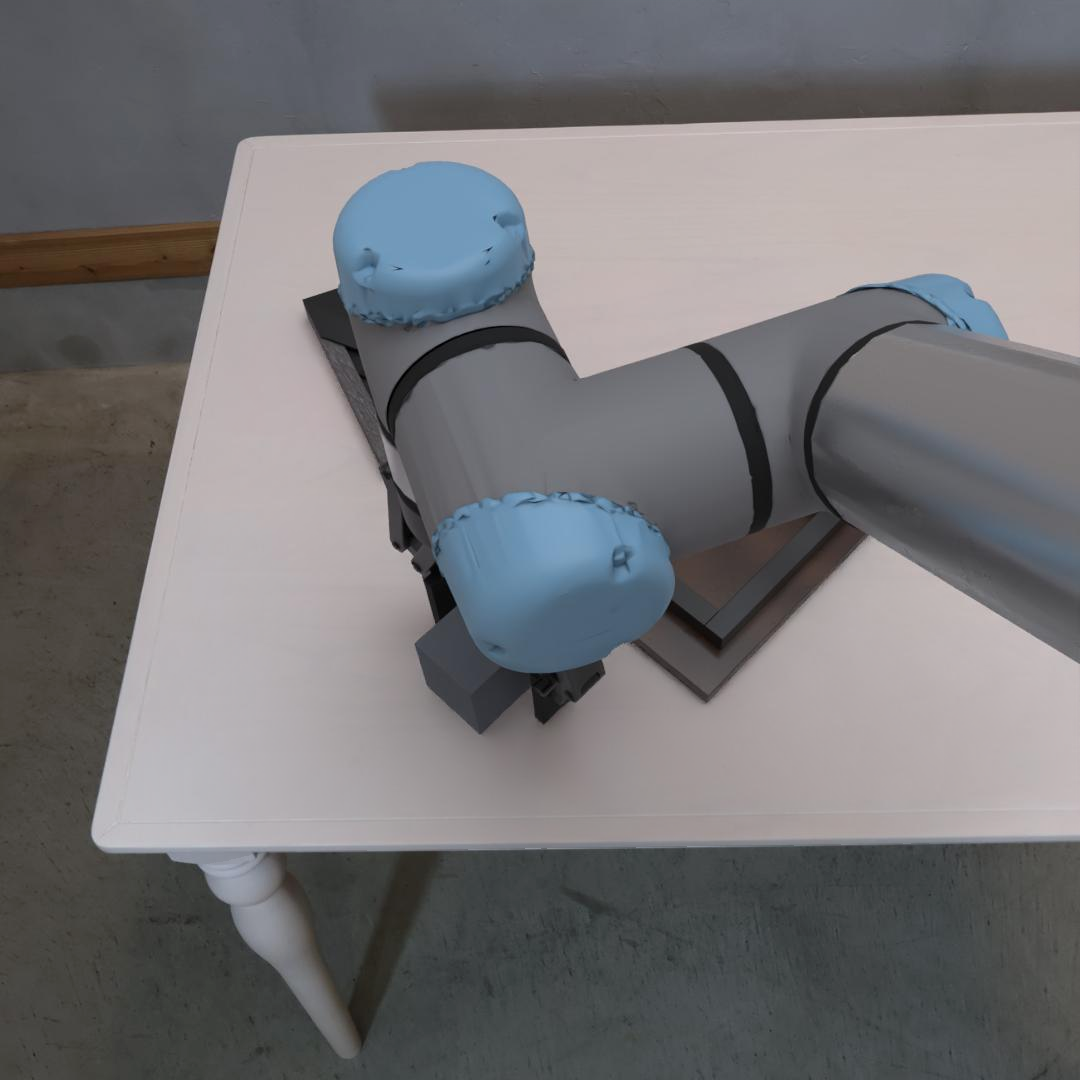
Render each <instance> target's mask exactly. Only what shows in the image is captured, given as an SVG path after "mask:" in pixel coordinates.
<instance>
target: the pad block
mask: <svg viewBox="0 0 1080 1080" xmlns="http://www.w3.org/2000/svg"><path fill="white" fill-rule="evenodd" d="M413 645H414V648H415V651H416V654H417V658H418V660H419V664H420V668H421V670H422V673H423V677H424V680H425V683H426V686H427V687H428V688H429V689H431V691H432V692H433V693H435V695H436V696H437V697H439V698H440V699H441V700H442V701H443V702H444V703H445V704H446V705H447V706H448V707H449V708H450V709H452V711H454V712H455V713H456V714H457V715H458V716H459V717H460V718H461V719H462V720H463V721H465V722H466V724H468V725H469V726H470V727H471V728H472V729H474V731H475V732H476V733H477V734H479V735H482V733H483V732H484V731H485V730H486V729H488V727H490V725H491V724H493V722H495V721H496V720H497V719H498V718H499V717H500V716H501V715H502V714H503V713H504V712H505V711H506V710H507V709H509V707H510V706H512V705H513V704H514V703H515V702H516V701H517V700H518V699H519V698H520V697H521V696H522V695H523V694H524V693H525V692H526V691H527V690H528V689H530V688H531V681H530V673H525V672H518V671H514V670H510V669H507V668H504V667H502V666H500V665H498V664H496V663H495V662H493V661H492V660H490V659H489V658H488V657H486V656H485V655H484V654H483V653H482V652H481V651H480V649H479V648H478V647H477V645H476V644H475V642H474V640H473V639H472V637H471V635H470V634H469V631H468V629H467V627H466V625H465V622H464V620H463V618H462V615H461V613H460V611H459V608H458V606H456V607H455V608H454V609H453V610H452V611H450V612H449V613H448V614H447V615H446V616H445V617H444V618H443V619H441V620H440V621H439V622H438V623H437V624H436V625H433V626H432V627H431V628H430V629H429V630H427V632H426V633H424V634H423V635H422V636H421V637H420V638H419V639H417V640H416V641H415V642H414V644H413Z"/></svg>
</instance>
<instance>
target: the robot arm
mask: <svg viewBox="0 0 1080 1080" xmlns="http://www.w3.org/2000/svg"><path fill="white" fill-rule="evenodd" d="M332 235H333V236H332V251H333V255H334V260H335V265H336V270H337V275H338V281H339V284H338V285H337V288H338V293H339V295H340V297H341V299H342V301H343V303H344V307H345V309H346V310H347V312H348V315H349V319H350V322H351V326H352V330H353V333H354V337H355V340H356V344H357V348H358V351H359V355H360V358H361V362H362V365H363V368H364V372H365V375H366V378H367V381H368V384H369V388H370V391H371V394H372V397H373V400H374V404H375V410H376V417H377V421H378V426H379V430H380V434H381V437H382V441H383V444H384V448H385V452H386V456H387V461H386V462H385V463H383V464H382V465H381V466H380V465H379V467H378V471H379V474H380V477H381V479H382V481H383V484H384V486H385V489H386V496H387V497H386V498H387V514H388V515H387V517H388V532H389V533H388V534H389V541H390V543H391V546H392V547H393V549H394V550H396V551H398V552H399V553H401V554H402V553H404V552H405V551H408V552H409V554H411V555H412V556H413V557H412V558H411V559H410V564H411V565H412V568H413V570H414V571H415V572H417V573H419V574H420V575H421V577H422V582H423V584H424V588H425V592H426V596H427V598H428V602H429V605H430V610H431V613H432V617H433V621H434V624H435V625H436V624H437V623H438V622H439V621H440V620H441V619H443V618H444V617H445V616H446V615H447V614H448V613H449V612H450V611H452V610H453V609H454V608H455V607H456V606H458V608H459V611H460V613H461V615H462V618H463V620H464V622H465V625H466V627H467V629H468V631H469V634H470V635H471V637H472V639H473V640H474V642H475V644H476V645H477V647H478V648H479V649H480V651H481V652H482V653H483V654H484V655H485V656H486V657H488V658H489V659H490V660H492V661H493V662H495V663H496V664H498V665H500V666H502V667H504V668H507V669H510V670H514V671H518V672H525V673H530V681H531V686H530V688H531V693H532V694H531V695H532V696H531V697H532V703H533V711H534V717H535V718H536V720H538V722H540V723H541V724H543V726H544V725H545V724H547V722H548V721H549V720H550V719H551V718H552V717H553V716H554V715H555V714H557V713H558V712H559V711H560V709H561V708H563V707H564V706H565V705H566V704H567V703H568V702H569V701H570V702H571V703H575V704H576V703H578V702H579V701H580V700H581V699H582V698H583V697H584V696H585V695H586V694H587V693H588V692H589V691H590V690H591V689H592V688H593V687H594V686H595V685H597V683H598V682H599V681H600V680H601V679H602V678H603V677H604V676H605V675H606V668H605V666H604V665H605V664H604V662H603V659H605V658H607V657H608V656H610V654H611V653H612V652H613V650H614V649H616V648H618V647H619V646H621V645H623V644H627V643H631V642H633V641H635V640H636V639H638V638H639V637H640V636H642V635H643V634H644V633H645V632H647V631H648V630H649V629H650V628H651V627H652V626H653V625H654V624H655V623H656V622H657V621H658V620H659V619H660V617H661V616H662V615H663V614H664V612H665V610H666V609H667V607H668V605H669V603H670V601H671V599H672V597H673V593H674V587H675V576H674V571H673V567H672V565H671V562H673V561H676V560H679V559H682V558H685V557H687V556H690V555H693V554H696V553H699V552H702V551H705V550H708V549H711V548H714V547H716V546H719V545H722V544H725V543H728V542H731V541H734V540H737V539H740V538H743V537H745V536H747V535H750V534H753V533H756V532H758V531H761V530H764V529H767V528H770V527H774V526H777V525H780V524H783V523H786V522H789V521H792V520H795V519H798V518H801V517H804V516H807V515H810V514H813V513H816V512H820V511H827V512H828V513H830V514H832V515H834V516H835V517H837V518H839V519H840V520H842V521H843V522H845V523H847V524H848V525H850V526H852V527H853V528H856V529H859V530H861V531H863V532H865V533H866V534H868V536H870V537H871V538H873V539H874V540H876V541H877V542H879V543H881V544H883V545H884V546H886V547H888V548H889V549H891V550H892V551H894V552H896V553H897V554H899V555H901V556H902V557H904V558H905V559H907V560H909V561H910V562H912V563H914V564H915V565H917V566H919V567H920V568H921V569H924V570H925V571H927V572H928V573H930V574H932V575H933V576H935V577H937V578H938V579H940V580H941V581H943V582H944V583H946V584H947V585H949V586H951V587H953V588H954V589H956V590H958V591H959V592H961V593H962V594H964V595H966V596H968V597H969V598H971V599H972V600H974V601H975V602H977V603H979V604H980V605H982V606H983V607H985V608H987V609H989V610H990V611H992V612H994V613H995V614H997V615H998V616H1000V617H1001V618H1004V620H1007V621H1009V622H1010V623H1012V624H1013V625H1015V626H1016V627H1018V628H1020V629H1021V630H1023V631H1024V632H1026V633H1028V634H1030V635H1031V636H1033V637H1035V638H1036V639H1038V640H1039V641H1041V642H1043V643H1044V644H1046V645H1047V646H1049V647H1051V648H1052V649H1054V650H1056V651H1057V652H1059V653H1060V654H1062V655H1064V656H1066V657H1067V658H1069V659H1071V660H1072V661H1073V662H1075V663H1077V664H1078V665H1080V356H1076V355H1071V354H1068V353H1063V352H1059V351H1055V350H1051V349H1047V348H1042V347H1038V346H1034V345H1030V344H1025V343H1022V342H1017V341H1013V340H1010V338H1009V335H1008V333H1007V331H1006V328H1004V325H1003V323H1002V322H1001V320H1000V318H999V316H998V314H997V312H996V311H995V309H994V308H993V307H992V305H991V304H989V302H988V301H986V300H983V299H978V298H976V297H975V295H974V294H975V293H974V292H973V289H972V287H971V286H970V285H969V283H967V282H965V281H964V280H961V279H960V278H958V277H955V276H952V275H949V274H946V273H945V274H943V273H934V272H933V273H932V272H931V273H922V274H918V275H914V276H909V277H906V278H903V279H898V280H893V281H889V282H883V283H882V282H881V283H868V284H863V285H858V286H855V287H852V288H850V289H848V290H847V291H846V292H844V293H841V294H838V295H837V296H835V297H833V298H830V299H827V300H823V301H820V302H817V303H815V304H814V303H813V304H811V305H808V306H805V307H801V308H799V309H795V310H793V311H790V312H787V313H784V314H780V315H777V316H775V317H771V318H767V319H766V320H765V319H764V320H762V321H759V322H756V323H753V324H750V325H747V326H744V327H740V328H738V329H735V330H732V331H728V332H725V333H723V334H722V333H721V334H719V335H716V336H712V337H710V338H707V339H703V340H700V341H698V342H694V343H691V344H688V345H684V346H681V347H679V348H675V349H673V350H669V351H666V352H663V353H659V354H657V355H653V356H650V357H647V358H644V359H640V360H637V361H633V362H631V363H627V364H624V365H621V366H616V367H614V368H611V369H607V370H604V371H599V372H597V373H594V374H592V375H589V376H585V377H580V376H579V374H578V373H577V371H576V369H575V368H574V367H573V365H572V363H571V361H570V359H569V357H568V355H567V353H566V350H565V349H564V348H563V347H562V345H561V344H560V343H561V342H560V341H559V339H558V336H557V335H556V333H555V331H554V329H553V327H552V325H551V323H550V320H549V319H548V317H547V315H546V314H545V311H544V309H543V307H542V306H541V303H540V301H539V298H538V295H537V292H536V288H535V284H534V280H533V272H534V270H535V261H536V252H535V250H534V247H533V246H532V244H531V243H530V242H531V241H530V235H529V230H528V225H527V221H526V216H525V212H524V209H523V207H522V204H521V203H520V201H519V198H518V197H517V196H516V194H515V192H513V190H512V189H511V187H510V186H508V185H507V184H506V183H505V182H504V181H502V180H501V179H500V178H498V177H497V176H495V175H494V174H492V173H490V172H488V171H486V170H484V169H482V168H479V167H477V166H473V165H470V164H466V163H461V162H455V161H451V160H450V161H449V160H431V161H420V162H416V163H415V164H413V165H410V166H409V167H403V168H400V169H390V170H387V171H386V172H383V173H381V174H380V175H377V176H376V177H374V178H371V179H370V180H368V182H366V183H365V184H363V185H362V186H361V187H360V188H358V189H357V190H356V191H355V192H354V193H353V194H352V195H351V196H350V198H349V199H348V200H347V201H346V203H345V204H344V206H343V207H342V209H341V210H340V212H339V215H338V218H337V219H336V222H335V224H334V229H333V234H332ZM435 625H434V626H435Z"/></svg>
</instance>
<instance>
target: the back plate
mask: <svg viewBox="0 0 1080 1080" xmlns="http://www.w3.org/2000/svg"><path fill="white" fill-rule="evenodd" d="M867 537H869V535H868V534H866V533H865V532H863V531H861V530H859V529H856V528H853V527H852V526H850V525H848V524H847V523H845V522H843V521H842V520H840V519H839V518H837V517H835V516H834V515H832V514H830V513H828V512H827V511H820V512H816V513H813V514H810V515H807V516H804V517H801V518H798V519H795V520H792V521H789V522H786V523H783V524H780V525H777V526H774V527H770V528H767V529H764V530H761V531H758V532H756V533H753V534H750V535H747V536H745V537H743V538H740V539H737V540H734V541H731V542H728V543H725V544H722V545H719V546H716V547H714V548H711V549H708V550H705V551H702V552H699V553H696V554H693V555H690V556H687V557H685V558H682V559H679V560H676V561H673V562H671V565H672V567H673V571H674V576H675V587H674V593H673V597H672V599H671V601H670V603H669V605H668V607H667V609H666V610H665V612H664V614H663V615H662V616H661V617H660V619H659V620H658V621H657V622H656V623H655V624H654V625H653V626H652V627H651V628H650V629H649V630H648V631H647V632H645V633H644V634H643V635H642V636H640V637H639V638H638V639H636V640H635V641H632V642H633V643H634V644H635V645H636V646H638V647H639V648H640V649H641V650H642V651H644V652H645V653H646V654H648V655H649V656H650V657H651V658H652V659H653V660H655V661H656V662H657V663H659V664H660V665H661V666H662V667H663V668H665V669H666V670H667V671H669V672H670V673H671V674H672V675H674V677H675V678H676V679H678V680H679V681H680V682H682V683H683V684H684V685H685V686H687V687H688V688H689V689H690V690H691V691H693V692H694V693H695V694H696V695H698V697H700V698H701V699H702V700H704V701H705V703H708V702H709V701H710V700H711V699H712V698H714V696H715V695H716V694H717V693H718V692H719V691H720V690H721V689H722V688H723V686H725V685H726V684H727V683H728V682H729V680H731V678H732V677H734V675H735V674H736V673H737V672H738V671H739V670H740V669H741V668H742V667H743V666H744V665H745V664H746V663H747V662H748V661H749V660H750V659H751V658H752V656H754V655H755V653H757V651H758V650H759V649H760V648H761V647H762V646H764V644H766V642H767V641H768V640H769V639H770V638H771V637H772V636H773V635H774V634H775V633H776V632H777V631H778V629H780V628H781V626H782V625H784V623H785V622H786V621H788V620H789V618H790V617H791V616H793V614H794V613H795V612H796V611H797V610H798V609H799V608H800V607H801V606H802V605H803V603H805V602H806V600H807V599H809V598H810V597H811V595H812V594H813V593H815V591H816V590H817V589H818V588H819V587H820V586H821V585H822V584H823V583H824V582H825V581H826V580H827V579H828V578H829V577H830V576H831V574H833V572H834V571H835V570H836V569H837V568H838V567H840V565H841V564H842V563H843V562H844V561H845V560H846V559H847V558H848V557H849V556H850V555H851V554H852V553H853V552H854V551H855V550H856V549H857V548H858V547H859V546H860V545H861V543H862V542H864V540H866V539H867Z"/></svg>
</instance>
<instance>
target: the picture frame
mask: <svg viewBox="0 0 1080 1080" xmlns="http://www.w3.org/2000/svg"><path fill="white" fill-rule="evenodd" d="M301 301H302V303H303V304H302V305H303V307H304V310H305V313H306V317H307V318H308V321H309V323H310V326H311V327H312V329H313V331H314V333H315V335H316V337H317V340H318V341H319V343H320V346H321V348H322V350H323V352H324V354H325V356H326V358H327V360H328V362H329V364H330V367H331V368H332V371H333V372H334V374H335V377H336V379H337V381H338V382H339V385H340V387H341V389H342V391H343V393H344V395H345V398H346V399H347V402H348V403H349V406H350V408H351V410H352V412H353V414H354V416H355V418H356V420H357V422H358V424H359V426H360V428H361V431H362V432H363V434H364V436H365V438H366V440H367V442H368V444H369V447H370V449H371V451H372V453H373V455H374V457H375V459H376V461H377V463H378V465H379V467H380V466H381V465H382V464H383V463H385V462H386V461H387V456H386V452H385V448H384V444H383V441H382V437H381V434H380V430H379V426H378V421H377V417H376V410H375V404H374V400H373V397H372V394H371V391H370V388H369V384H368V381H367V378H366V375H365V372H364V368H363V365H362V362H361V358H360V355H359V351H358V348H357V344H356V340H355V337H354V333H353V330H352V326H351V322H350V319H349V315H348V312H347V310H346V309H345V307H344V303H343V301H342V299H341V297H340V295H339V293H338V287H337V288H333V289H331V290H327V291H324V292H321V293H317V294H315V295H312V296H308V297H306V298H302V300H301Z"/></svg>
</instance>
